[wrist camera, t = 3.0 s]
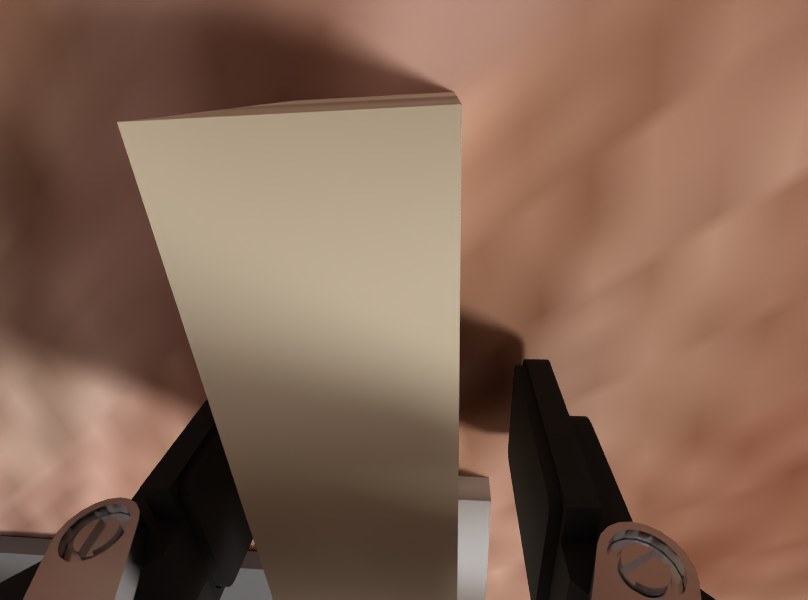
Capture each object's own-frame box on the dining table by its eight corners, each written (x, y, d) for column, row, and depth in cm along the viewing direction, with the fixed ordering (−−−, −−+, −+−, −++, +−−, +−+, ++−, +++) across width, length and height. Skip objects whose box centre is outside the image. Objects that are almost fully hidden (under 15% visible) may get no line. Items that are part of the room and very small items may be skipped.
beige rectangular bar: (246, 103, 8) (14, 127, 4) (509, 88, 8) (590, 97, 3) (350, 633, 17) (316, 830, 12) (479, 643, 16) (491, 853, 12)
